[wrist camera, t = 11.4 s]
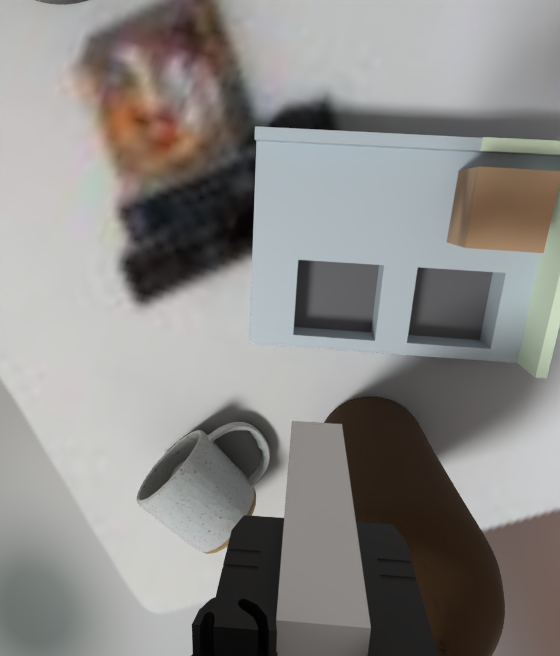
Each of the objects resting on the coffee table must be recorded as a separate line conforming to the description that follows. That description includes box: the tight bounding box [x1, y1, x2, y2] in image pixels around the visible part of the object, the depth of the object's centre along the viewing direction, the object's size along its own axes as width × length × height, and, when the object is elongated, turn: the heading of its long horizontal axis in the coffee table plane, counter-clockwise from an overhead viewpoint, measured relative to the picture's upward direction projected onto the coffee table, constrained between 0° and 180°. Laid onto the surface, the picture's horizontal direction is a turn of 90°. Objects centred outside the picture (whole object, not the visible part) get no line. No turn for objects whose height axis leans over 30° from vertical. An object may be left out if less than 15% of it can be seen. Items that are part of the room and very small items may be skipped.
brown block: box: [447, 166, 560, 253], centre depth 30 cm, size 5×5×4 cm
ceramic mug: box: [137, 422, 270, 553], centre depth 38 cm, size 11×8×8 cm
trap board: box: [249, 127, 560, 379], centre depth 33 cm, size 16×22×6 cm
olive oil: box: [324, 397, 505, 656], centre depth 28 cm, size 11×11×25 cm
